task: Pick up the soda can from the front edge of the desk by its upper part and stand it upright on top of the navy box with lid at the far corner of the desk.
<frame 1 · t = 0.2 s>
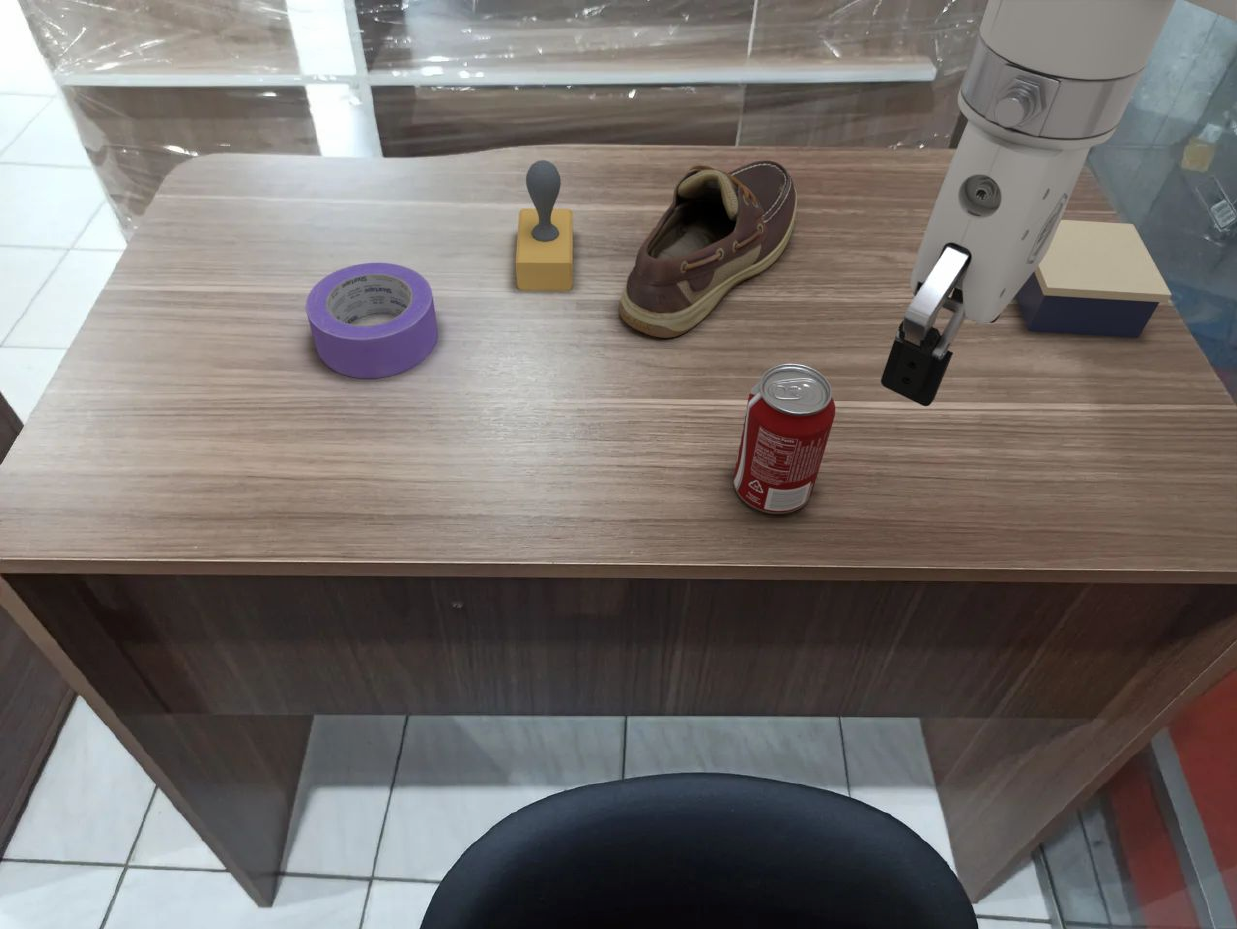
hand: (940, 351, 56), 22 cm above the table, tool pointing down, fingers open, 9 cm apart
tape roll: (378, 340, 89), on the table
boat shoe: (711, 263, 99), on the table
rubber stamp: (546, 264, 98), on the table
navy box with lid: (1068, 301, 96), on the table
soda can: (771, 489, 78), on the table
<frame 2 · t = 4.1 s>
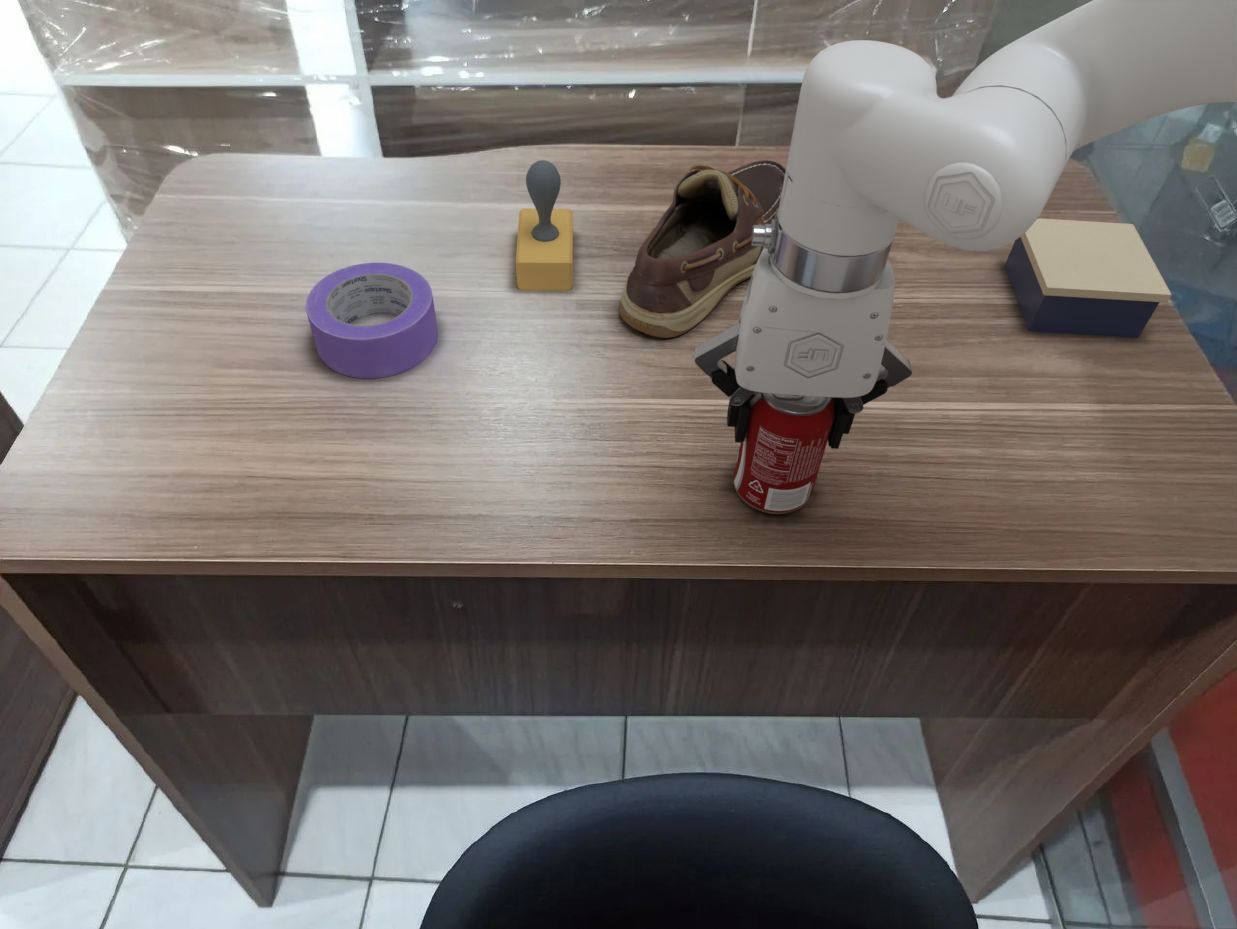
hand: (785, 431, 72), 7 cm above the table, tool pointing down, fingers closed on soda can, 6 cm apart
soda can: (771, 489, 78), on the table, touching gripper
everything else where it was.
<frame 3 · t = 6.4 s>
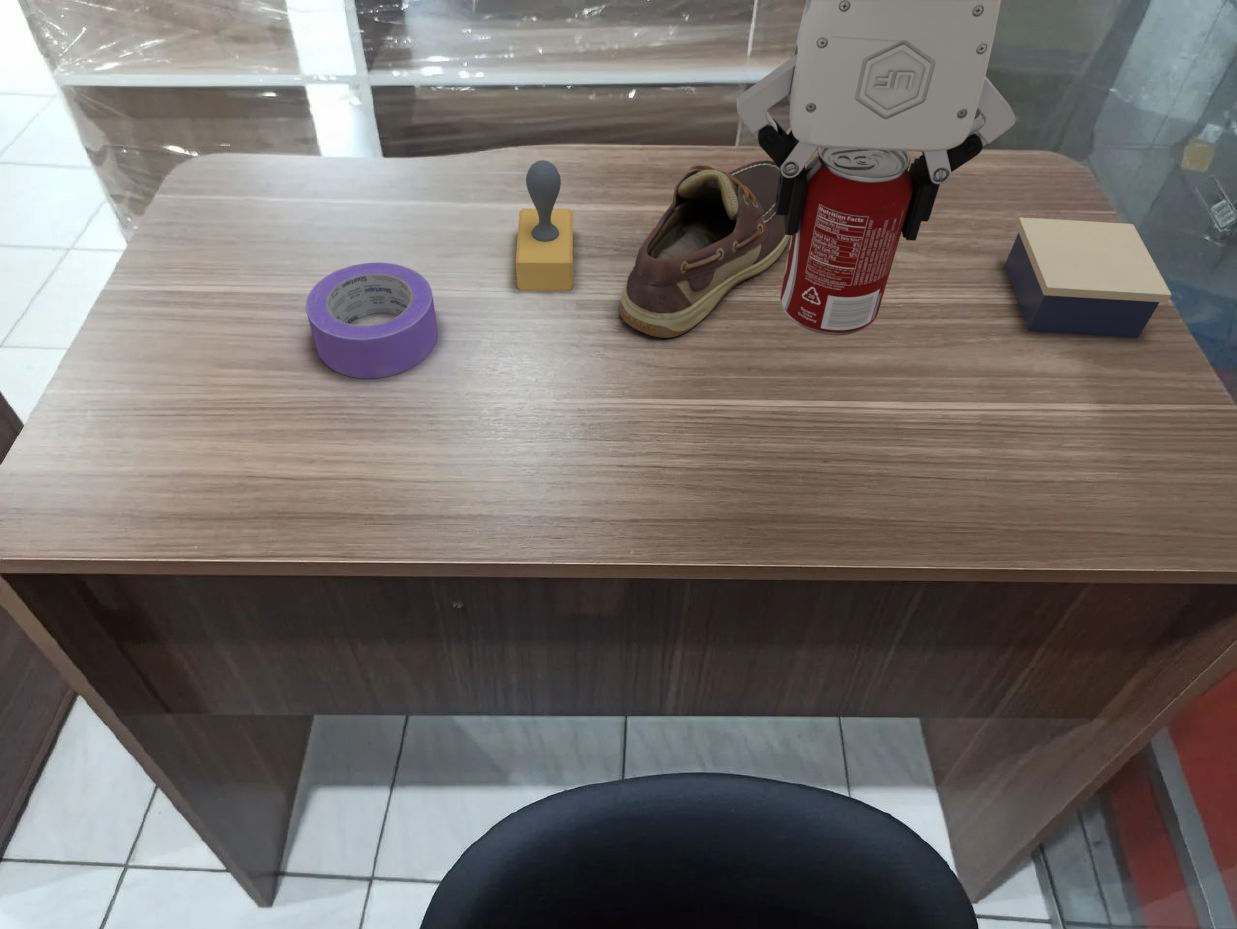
hand: (847, 223, 58), 26 cm above the table, tool pointing down, fingers closed on soda can, 6 cm apart
soda can: (826, 313, 63), point 19 cm above the table, touching gripper
everything else where it was.
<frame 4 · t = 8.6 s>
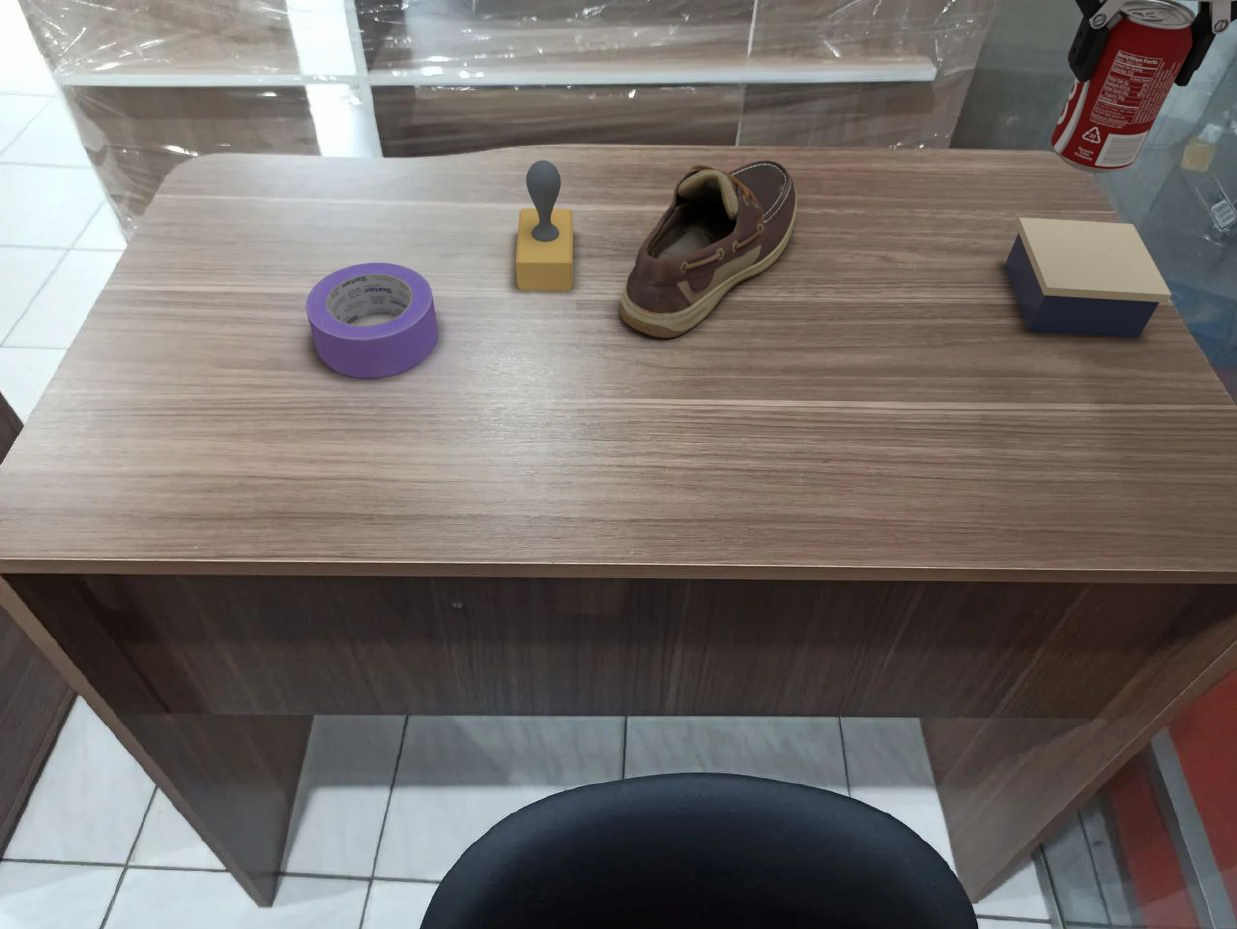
hand: (1127, 74, 70), 28 cm above the table, tool pointing down, fingers closed on soda can, 6 cm apart
soda can: (1087, 159, 76), point 20 cm above the table, touching gripper
everything else where it was.
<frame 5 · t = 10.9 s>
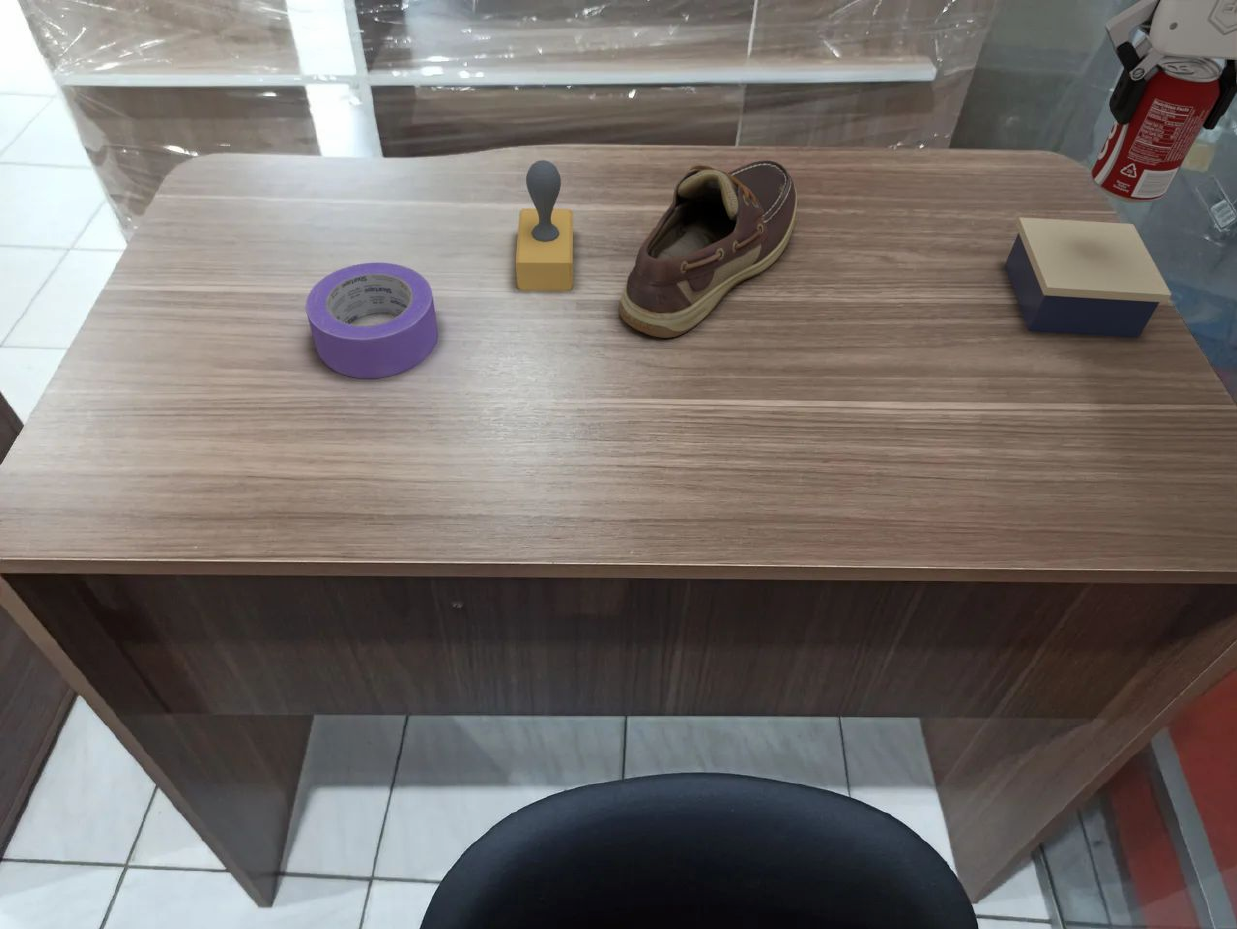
hand: (1160, 118, 80), 21 cm above the table, tool pointing down, fingers closed on soda can, 6 cm apart
soda can: (1123, 190, 86), point 13 cm above the table, touching gripper
everything else where it was.
when the fingers open (13 cm above the table, at t = 13.1 s): soda can stays where it is, resting on navy box with lid.
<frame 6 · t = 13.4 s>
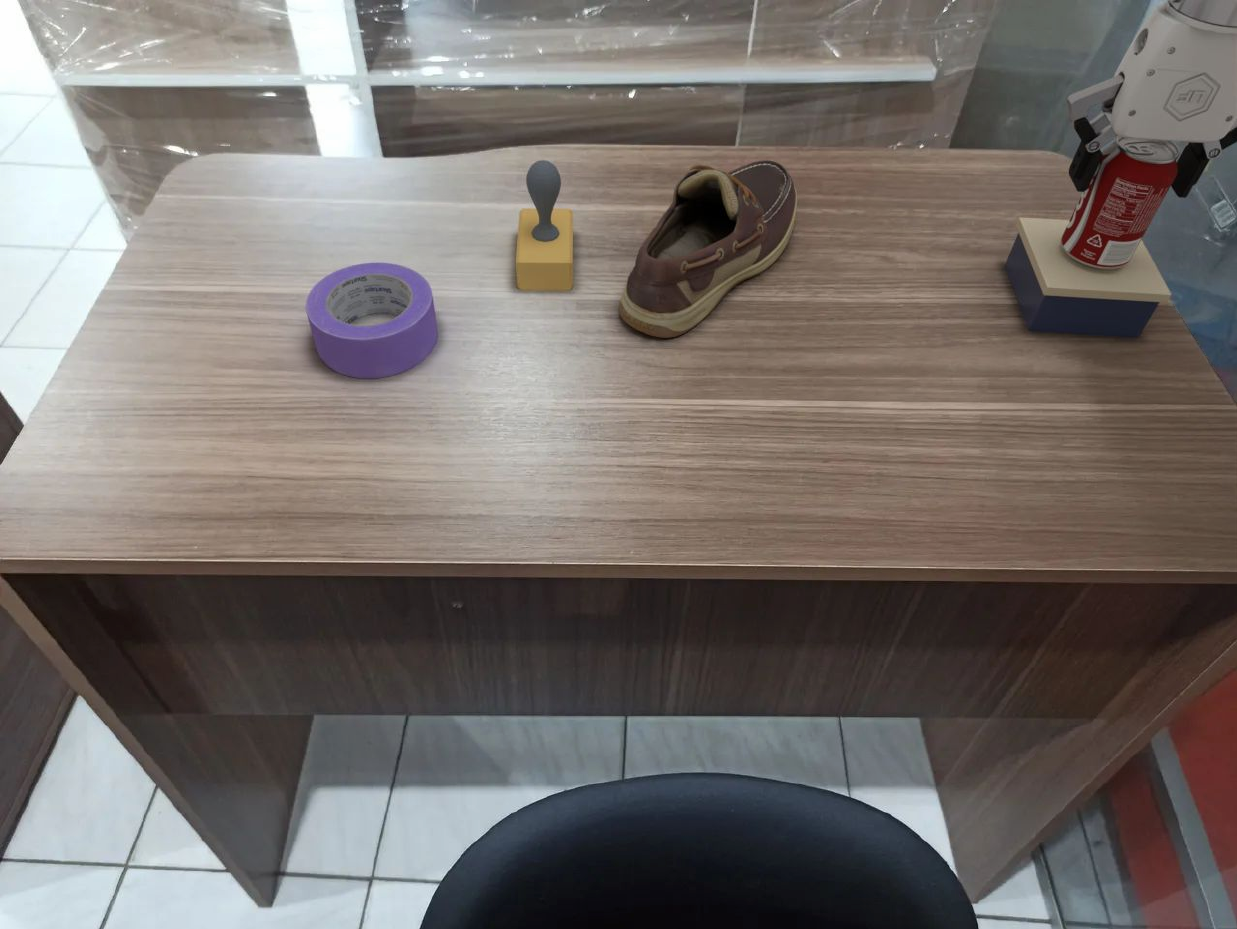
hand: (1126, 186, 86), 14 cm above the table, tool pointing down, fingers open, 8 cm apart
soda can: (1091, 255, 92), point 6 cm above the table, touching navy box with lid
everything else where it was.
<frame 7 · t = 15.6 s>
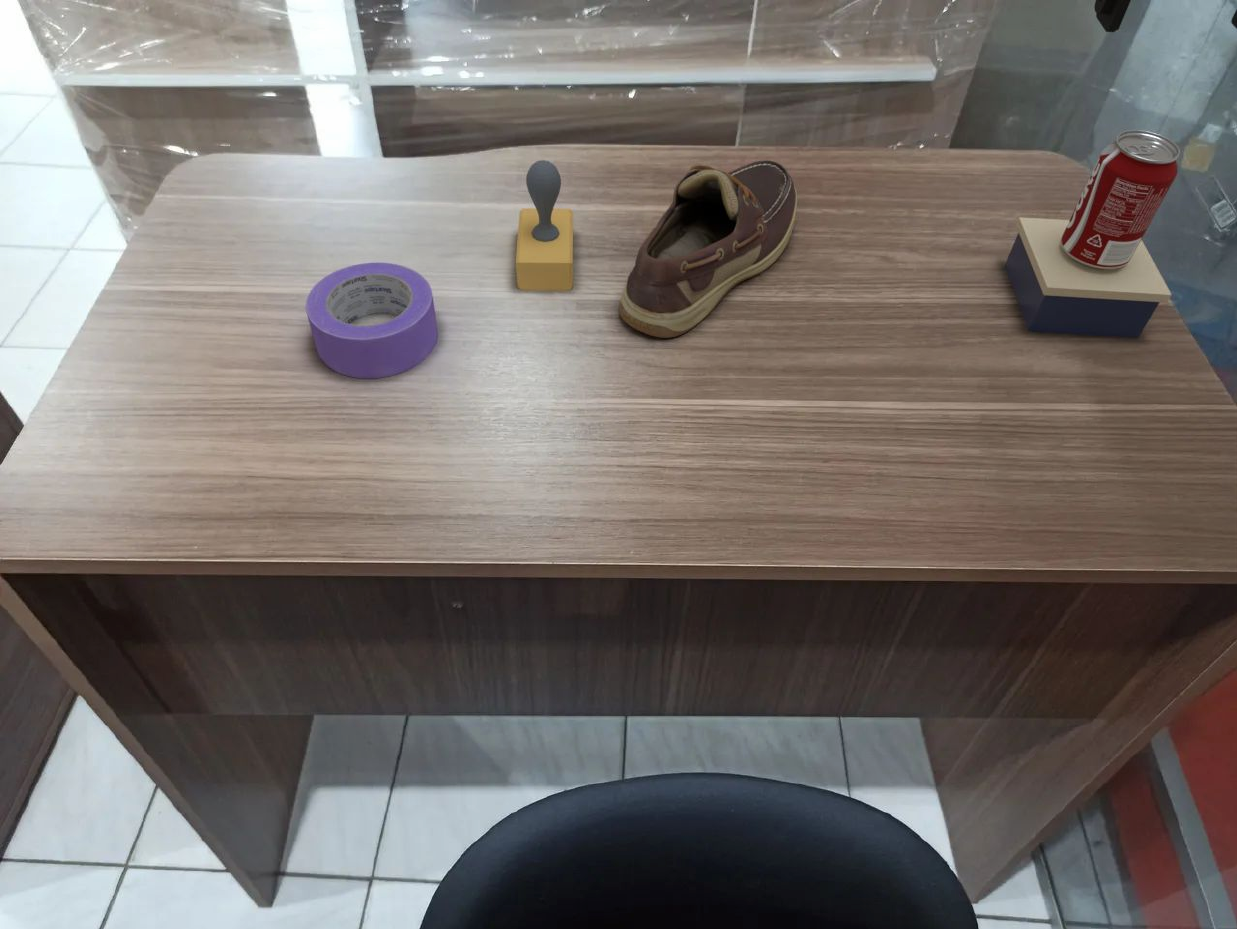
hand: (1173, 28, 65), 32 cm above the table, tool pointing down, fingers open, 9 cm apart
nothing on the table moved.
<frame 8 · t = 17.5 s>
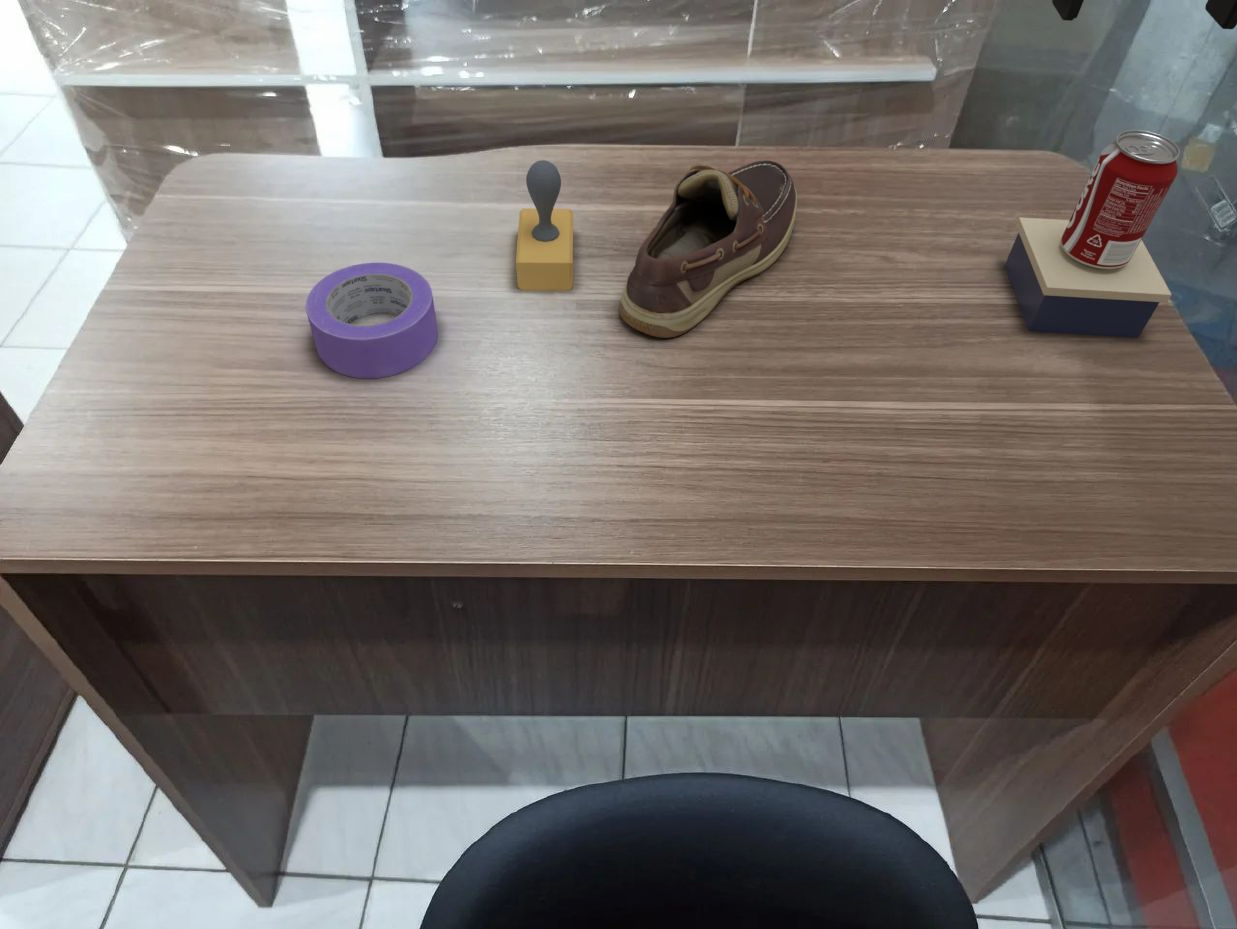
hand: (1140, 15, 57), 36 cm above the table, tool pointing down, fingers open, 9 cm apart
nothing on the table moved.
at the end: soda can inside the target area on the navy box with lid (0.1 cm from its centre), point 5.8 cm above the navy box with lid's base; soda can tilted 0°; the gripper is holding nothing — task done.
